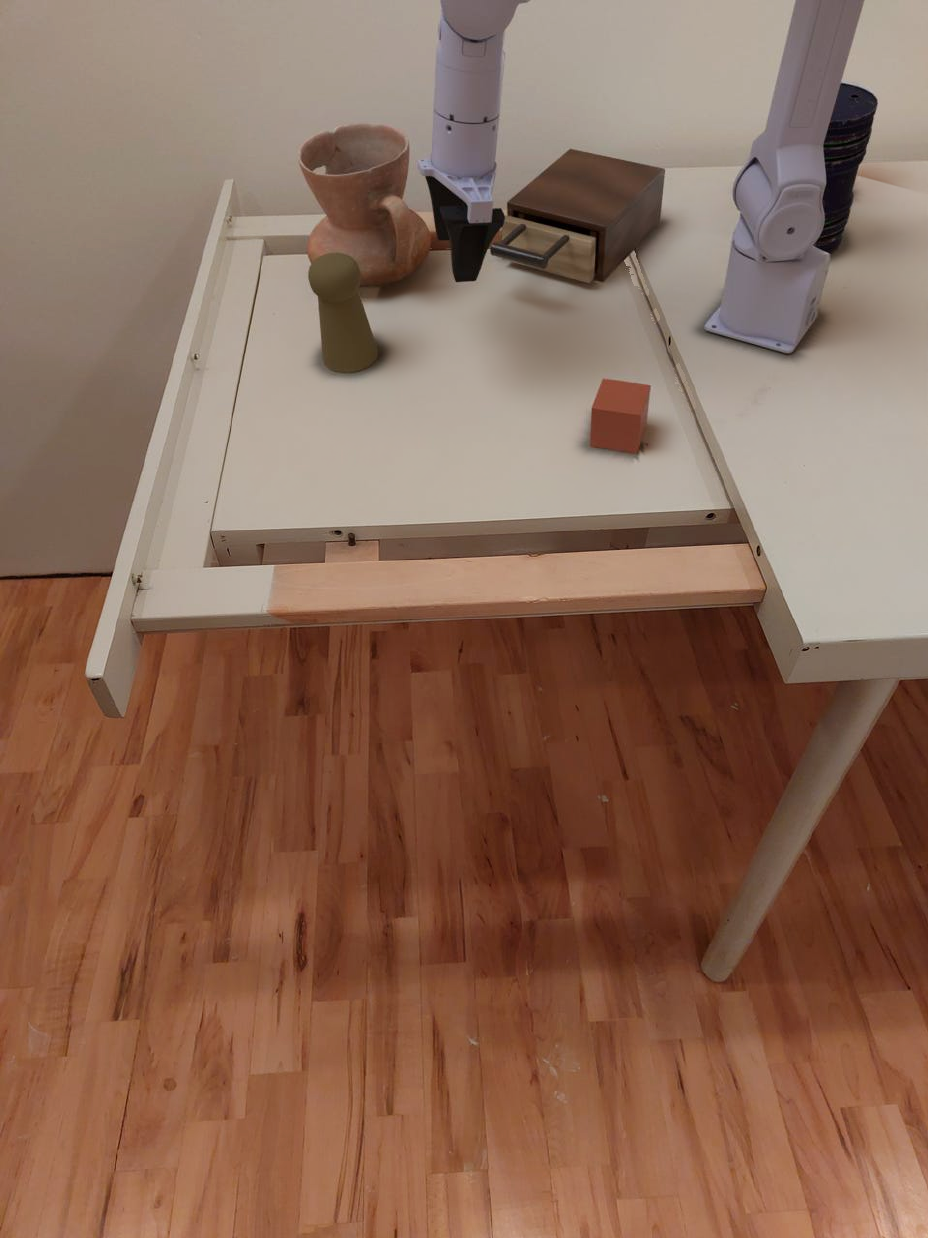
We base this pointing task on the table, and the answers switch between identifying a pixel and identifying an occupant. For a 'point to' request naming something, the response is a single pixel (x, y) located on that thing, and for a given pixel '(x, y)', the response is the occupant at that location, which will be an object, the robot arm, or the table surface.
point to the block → (619, 415)
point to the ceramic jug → (365, 201)
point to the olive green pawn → (342, 314)
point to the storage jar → (844, 159)
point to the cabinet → (597, 201)
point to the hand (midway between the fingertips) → (456, 258)
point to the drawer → (549, 246)
